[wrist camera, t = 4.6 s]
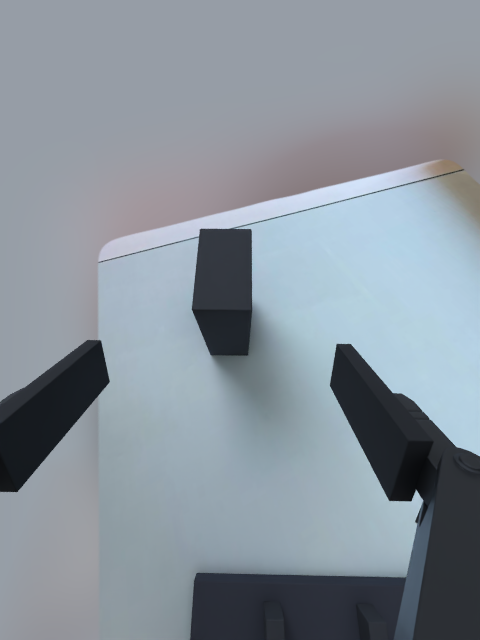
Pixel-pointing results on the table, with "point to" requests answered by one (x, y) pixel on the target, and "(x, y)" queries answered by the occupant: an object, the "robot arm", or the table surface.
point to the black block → (224, 290)
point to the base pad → (295, 607)
